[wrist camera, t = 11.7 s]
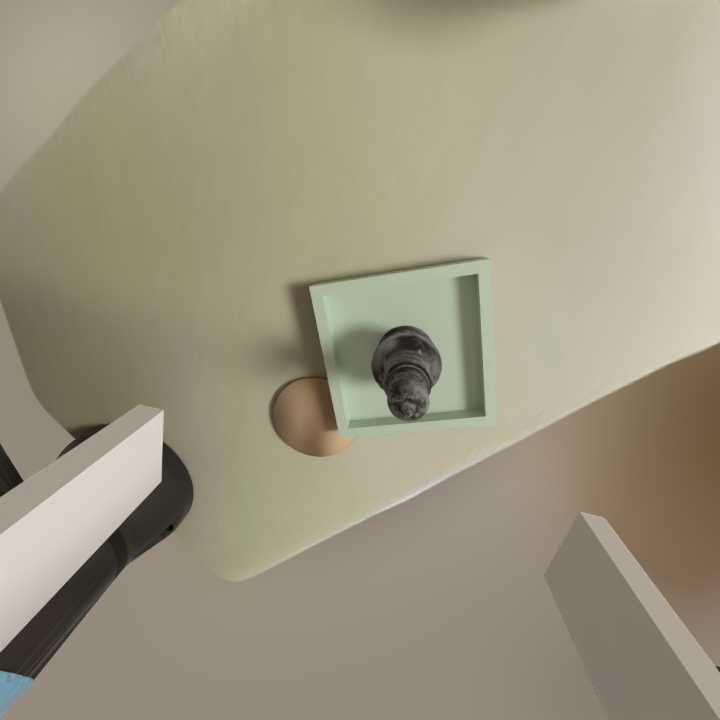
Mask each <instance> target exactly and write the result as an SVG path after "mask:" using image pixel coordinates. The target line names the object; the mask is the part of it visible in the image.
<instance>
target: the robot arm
mask: <svg viewBox="0 0 720 720" xmlns="http://www.w3.org/2000/svg"><path fill="white" fill-rule="evenodd" d="M163 414H164V410H161V409H157V408H153V407H149V406H145V405H141V404H139V405H138V406H136V407H135V408H133V409H132V410H130V411H129V412H127V413H126V414H124V415H123V416H121V417H120V418H118V419H117V420H115V421H114V422H112V423H111V424H109V425H106V426H100V427H97V428H94V429H92V430H90V431H88V432H87V433H85V434H84V435H82V436H80V437H79V438H77V439H76V440H74V441H73V442H71V443H70V444H69V445H68V446H67V447H66V448H65V449H64V450H63V451H62V452H61V454H60V455H59V457H58V458H57V459H56V460H55V461H54V462H52V463H51V464H49V465H48V466H46V467H45V468H44V469H42V470H40V471H39V472H37V473H36V474H34V475H33V476H31V477H30V478H28V479H27V480H25V481H23V479H22V478H21V476H20V475H19V473H18V471H17V470H16V468H15V467H14V465H13V464H12V462H11V460H10V459H9V457H8V456H7V454H6V452H5V451H4V449H3V447H2V446H1V444H0V717H1V716H2V715H3V713H4V712H5V711H6V710H7V709H8V708H9V707H10V706H11V704H12V703H13V702H14V701H15V700H16V699H17V698H18V697H19V696H20V694H21V693H22V692H23V691H25V690H27V689H28V688H29V687H30V686H31V685H32V683H33V682H34V679H35V678H36V677H37V675H38V674H39V673H40V672H41V670H42V669H43V668H44V667H45V665H46V664H47V663H48V662H49V660H50V659H51V658H52V657H53V655H54V654H55V653H56V652H57V651H58V649H59V648H60V647H61V646H62V644H63V643H64V642H65V641H66V639H67V638H68V637H69V636H70V634H71V633H72V632H73V631H74V629H75V628H76V627H77V626H78V624H79V623H80V622H81V621H82V619H83V618H84V617H85V616H86V614H87V613H88V612H89V611H90V609H91V608H92V607H93V606H94V605H95V603H96V602H97V601H98V599H99V598H100V597H101V596H102V595H103V593H104V592H105V591H106V590H107V588H108V587H109V586H110V585H111V583H112V582H113V581H114V580H115V578H116V577H117V576H118V575H119V574H120V572H121V571H122V570H123V569H124V568H125V566H127V565H128V564H129V563H130V562H132V561H133V560H135V559H136V558H137V557H139V556H140V555H142V554H143V553H144V552H146V551H147V550H149V549H150V548H151V547H153V546H154V545H156V544H157V543H159V542H160V541H162V540H163V539H165V538H166V537H167V536H169V535H170V534H171V533H172V532H173V531H174V530H175V529H176V528H177V527H178V526H179V524H180V523H181V522H182V520H183V519H184V518H185V516H186V515H187V514H188V512H189V510H190V508H191V505H192V501H193V486H192V481H191V478H190V475H189V473H188V471H187V469H186V467H185V465H184V464H183V462H182V461H181V460H180V458H179V457H178V456H177V455H176V453H175V452H174V451H173V450H172V449H171V448H169V447H168V446H167V445H166V444H165V443H163ZM544 577H545V579H546V581H547V583H548V586H549V588H550V590H551V592H552V595H553V597H554V599H555V601H556V604H557V606H558V608H559V610H560V613H561V615H562V617H563V619H564V622H565V624H566V626H567V629H568V631H569V633H570V635H571V637H572V640H573V642H574V644H575V646H576V649H577V651H578V653H579V656H580V658H581V660H582V662H583V665H584V667H585V669H586V671H587V674H588V676H589V678H590V680H591V683H592V685H593V687H594V690H595V692H596V694H597V696H598V698H599V701H600V703H601V705H602V707H603V710H604V712H605V714H606V717H607V719H608V720H720V667H717V666H715V665H714V664H713V663H712V661H711V660H710V659H709V657H708V656H707V655H706V653H705V652H704V651H703V649H702V648H701V647H700V645H699V644H698V643H697V641H696V640H695V638H694V637H693V636H692V634H691V633H690V632H689V630H688V629H687V628H686V626H685V625H684V624H683V622H682V621H681V620H680V618H679V617H678V616H677V614H676V613H675V612H674V611H673V609H672V608H671V606H670V605H669V604H668V602H667V601H666V600H665V598H664V597H663V596H662V594H661V593H660V592H659V590H658V589H657V588H656V586H655V585H654V584H653V582H652V581H651V580H650V578H649V577H648V576H647V575H646V573H645V571H644V570H643V569H642V567H641V566H640V565H639V563H638V562H637V561H636V559H635V558H634V557H633V555H632V554H631V553H630V552H629V550H628V549H627V547H626V546H625V545H624V543H623V542H622V541H621V539H620V538H619V537H618V535H617V534H616V533H615V532H614V530H613V529H612V527H611V526H610V525H609V523H608V522H607V521H606V519H605V518H604V517H600V516H596V515H592V514H588V513H584V512H579V513H578V515H577V517H576V519H575V521H574V522H573V524H572V526H571V528H570V530H569V531H568V533H567V535H566V537H565V539H564V540H563V542H562V544H561V546H560V548H559V549H558V551H557V553H556V555H555V557H554V558H553V560H552V562H551V564H550V565H549V567H548V569H547V571H546V572H545V574H544Z"/></svg>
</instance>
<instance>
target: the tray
mask: <svg viewBox="0 0 720 720" xmlns="http://www.w3.org/2000/svg"><path fill="white" fill-rule="evenodd" d="M309 289H310V294H311V299H312V304H313V309H314V313H315V318H316V323H317V328H318V333H319V338H320V343H321V348H322V353H323V358H324V363H325V368H326V373H327V378H328V383H329V387H330V392H331V397H332V402H333V407H334V412H335V417H336V422H337V427H338V432H339V437H340V438H350V437H361V436H373V435H385V434H397V433H409V432H421V431H432V430H444V429H456V428H468V427H480V426H491V425H497V400H496V376H495V351H494V326H493V301H492V276H491V259H489V258H486V257H483V258H477V259H470V260H464V261H457V262H451V263H444V264H437V265H431V266H424V267H418V268H411V269H405V270H398V271H392V272H385V273H379V274H372V275H366V276H359V277H353V278H346V279H340V280H333V281H327V282H320V283H314V284H313V285H311V286H309ZM399 326H413V327H416V328H419V329H421V330H422V331H424V332H425V333H426V334H427V335H428V336H429V338H430V339H431V340H432V343H433V344H434V345H435V346H436V348H437V349H438V351H439V354H440V356H441V359H442V370H441V374H440V377H439V379H438V381H437V383H436V384H435V385H434V386H433V387H432V388H431V392H430V394H429V401H430V403H429V408H428V410H427V412H426V414H425V415H424V416H423V417H422V418H420V419H418V420H416V421H411V422H407V421H402V420H400V419H397V418H396V417H395V416H394V415H393V414H392V413H391V412H390V410H389V407H388V404H387V395H386V394H385V391H384V390H383V389H381V388H380V386H379V385H378V384H377V383H376V381H375V379H374V376H373V374H372V367H371V363H372V357H373V354H374V352H375V350H376V348H377V347H378V345H379V342H380V340H381V338H382V337H383V336H384V335H385V334H386V333H387V332H388V331H390V330H391V329H393V328H396V327H399Z"/></svg>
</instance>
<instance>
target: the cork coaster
mask: <svg viewBox="0 0 720 720" xmlns="http://www.w3.org/2000/svg"><path fill="white" fill-rule="evenodd" d="M273 415H274V423H275V426H276V429H277V431H278V433H279V434H280V436H281V437H282V438H283V440H284V441H285V442H286V443H287V444H288V445H290V446H291V447H292V448H294V449H295V450H297V451H299V452H301V453H304V454H307V455H311V456H318V457H323V456H331V455H334V454H337V453H339V452H341V451H343V450H345V449H346V448H347V447H348V446H349V445H350V444H351V443H352V442H353V441H354V439H355V437H350V438H340V437H339V432H338V427H337V422H336V417H335V412H334V407H333V402H332V397H331V392H330V387H329V383H328V379H326V378H321V377H307V378H302V379H299V380H296V381H294V382H292V383H291V384H289V385H288V386H287V387H285V388H284V390H283V391H282V392H281V393H280V395H279V396H278V398H277V400H276V402H275V406H274V412H273Z"/></svg>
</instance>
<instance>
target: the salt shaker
mask: <svg viewBox="0 0 720 720" xmlns="http://www.w3.org/2000/svg"><path fill="white" fill-rule="evenodd" d="M371 367H372V374H373V376H374V379H375V381H376V383H377V384H378V385H379V386H380V388H381V389H383V390H384V391H385V394H386V395H387V404H388V407H389V410H390V412H391V413H392V414H393V415H394V416H395V417H396V418H397V419H400V420H402V421H407V422H411V421H416V420H418V419H420V418H422V417H423V416H424V415H425V414H426V412H427V410H428V408H429V403H430V401H429V394H430V392H431V388H432V387H433V386H434V385H435V384H436V383H437V381H438V379H439V377H440V374H441V370H442V359H441V356H440V354H439V351H438V349H437V348H436V346H435V345H434V344H433V343H432V340H431V339H430V338H429V336H428V335H427V334H426V333H425V332H424V331H422V330H421V329H419V328H416V327H413V326H399V327H396V328H393V329H391V330H390V331H388V332H387V333H386V334H385V335H384V336H383V337H382V338H381V340H380V342H379V345H378V347H377V348H376V350H375V352H374V354H373V357H372V363H371Z"/></svg>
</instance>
